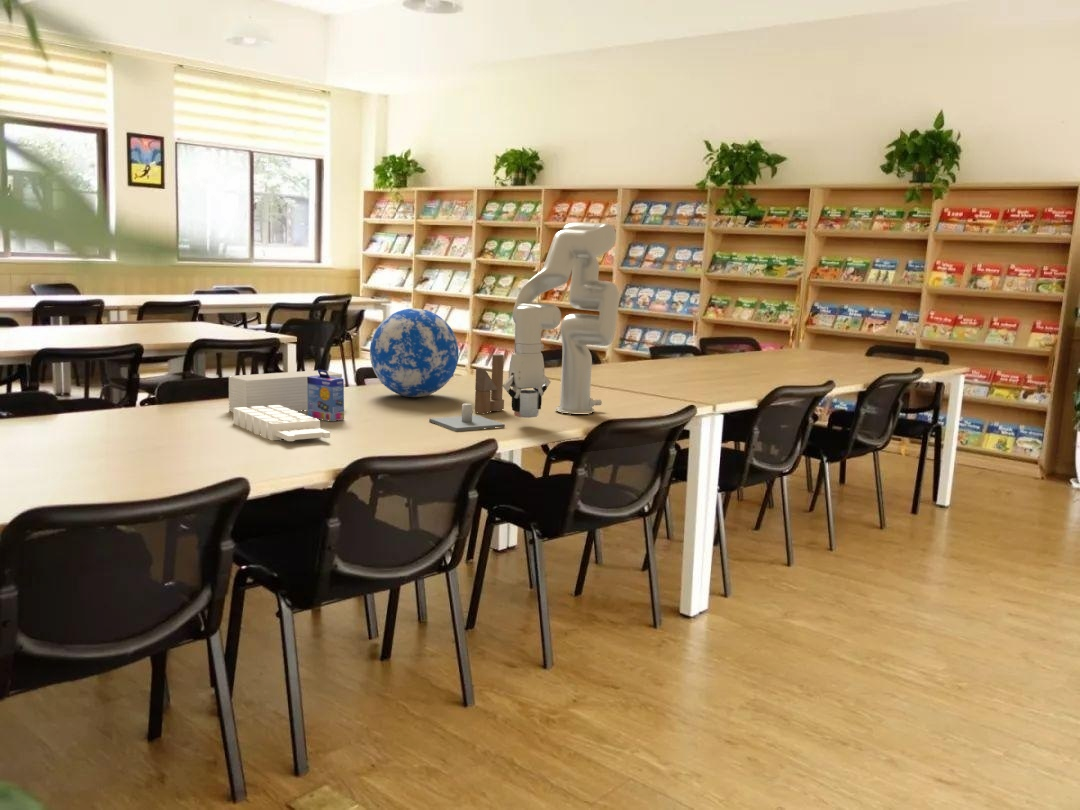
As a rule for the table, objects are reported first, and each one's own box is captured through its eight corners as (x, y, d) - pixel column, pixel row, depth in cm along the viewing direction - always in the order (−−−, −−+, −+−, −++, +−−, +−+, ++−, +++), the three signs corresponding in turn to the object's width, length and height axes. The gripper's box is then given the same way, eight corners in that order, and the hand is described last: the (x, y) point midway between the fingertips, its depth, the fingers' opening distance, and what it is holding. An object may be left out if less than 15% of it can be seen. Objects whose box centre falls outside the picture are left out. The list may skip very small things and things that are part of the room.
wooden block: (474, 413, 296) (476, 355, 293) (495, 409, 304) (497, 353, 301) (483, 414, 293) (485, 356, 291) (504, 410, 302) (506, 354, 299)
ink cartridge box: (305, 417, 275) (306, 368, 272) (319, 415, 279) (319, 366, 277) (331, 422, 270) (331, 371, 267) (344, 419, 274) (345, 370, 272)
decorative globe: (359, 391, 329) (360, 304, 325) (440, 389, 342) (443, 306, 337) (382, 405, 303) (384, 311, 298) (469, 402, 315) (472, 312, 310)
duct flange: (476, 418, 286) (477, 398, 285) (504, 427, 273) (505, 407, 272) (429, 421, 277) (429, 401, 276) (456, 431, 264) (456, 410, 263)
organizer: (278, 404, 269) (334, 425, 242) (278, 421, 269) (334, 444, 242) (233, 407, 261) (285, 429, 234) (233, 424, 261) (285, 448, 234)
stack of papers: (246, 417, 273) (246, 380, 271) (228, 412, 280) (228, 376, 278) (341, 408, 295) (342, 374, 293) (323, 403, 302) (323, 370, 301)
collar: (529, 412, 281) (530, 388, 279) (542, 416, 275) (542, 392, 274) (510, 414, 277) (511, 390, 276) (523, 418, 272) (523, 394, 270)
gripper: (545, 345, 280) (543, 404, 284) (495, 349, 270) (494, 410, 274) (559, 348, 274) (558, 409, 277) (509, 352, 264) (508, 415, 268)
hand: (526, 409), depth 276 cm, fingers closed on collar, 6 cm apart
